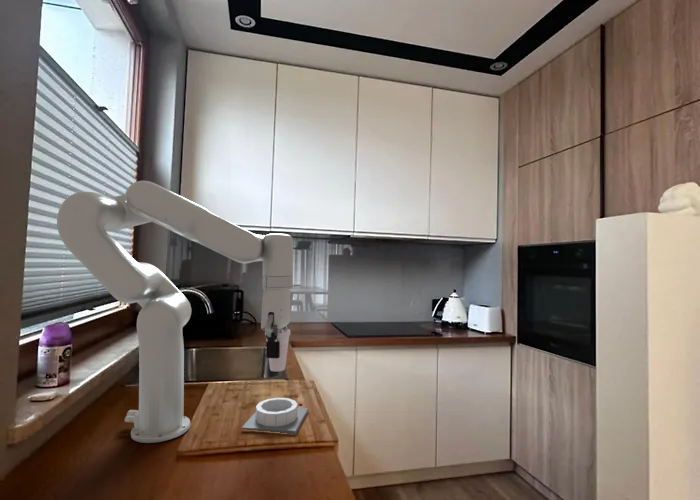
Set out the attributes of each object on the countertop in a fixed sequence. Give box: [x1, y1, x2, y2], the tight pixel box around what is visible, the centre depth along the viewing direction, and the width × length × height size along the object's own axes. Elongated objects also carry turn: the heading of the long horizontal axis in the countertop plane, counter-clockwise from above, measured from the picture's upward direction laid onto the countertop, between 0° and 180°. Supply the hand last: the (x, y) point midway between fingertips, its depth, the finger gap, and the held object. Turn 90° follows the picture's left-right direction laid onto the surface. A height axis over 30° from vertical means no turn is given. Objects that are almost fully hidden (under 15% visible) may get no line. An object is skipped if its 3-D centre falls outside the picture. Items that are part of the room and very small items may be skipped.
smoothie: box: [264, 327, 291, 372], centre depth 96 cm, size 6×6×14 cm
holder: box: [241, 397, 309, 436], centre depth 96 cm, size 13×13×4 cm
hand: (277, 353), depth 96 cm, fingers closed on smoothie, 6 cm apart
